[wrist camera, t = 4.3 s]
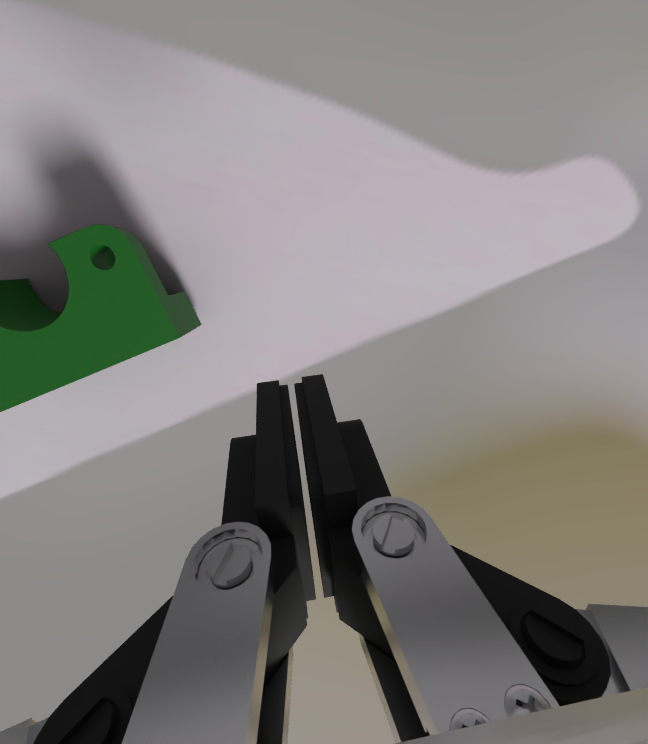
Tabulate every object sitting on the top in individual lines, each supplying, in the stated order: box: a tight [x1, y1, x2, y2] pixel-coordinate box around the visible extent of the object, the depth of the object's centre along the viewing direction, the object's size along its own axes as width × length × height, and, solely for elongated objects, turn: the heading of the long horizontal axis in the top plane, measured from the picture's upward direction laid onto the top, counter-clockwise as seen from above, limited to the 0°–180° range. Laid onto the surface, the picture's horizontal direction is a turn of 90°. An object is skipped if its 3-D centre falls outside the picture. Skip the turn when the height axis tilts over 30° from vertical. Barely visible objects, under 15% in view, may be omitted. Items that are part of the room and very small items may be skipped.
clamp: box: [0, 225, 201, 412], centre depth 20 cm, size 12×6×9 cm, turn 106°
